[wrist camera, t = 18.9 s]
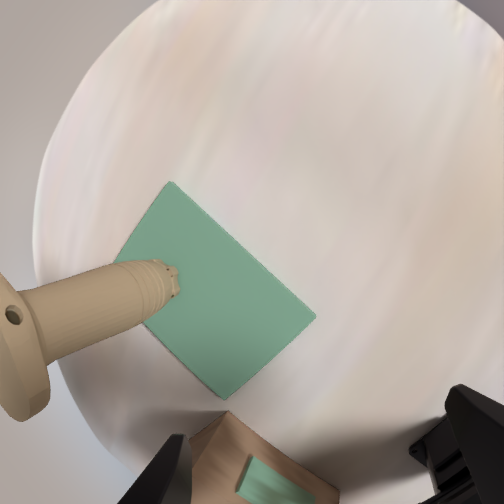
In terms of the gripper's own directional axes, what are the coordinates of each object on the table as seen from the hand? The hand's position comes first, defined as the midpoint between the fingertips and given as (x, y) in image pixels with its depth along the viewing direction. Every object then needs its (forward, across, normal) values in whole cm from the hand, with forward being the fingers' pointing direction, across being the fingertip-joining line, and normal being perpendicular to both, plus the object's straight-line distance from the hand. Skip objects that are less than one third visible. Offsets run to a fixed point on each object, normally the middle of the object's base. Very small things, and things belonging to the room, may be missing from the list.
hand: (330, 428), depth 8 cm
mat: (+14, +6, +2) cm, 16 cm away
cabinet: (+9, +2, +18) cm, 21 cm away
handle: (+15, +8, +1) cm, 17 cm away
